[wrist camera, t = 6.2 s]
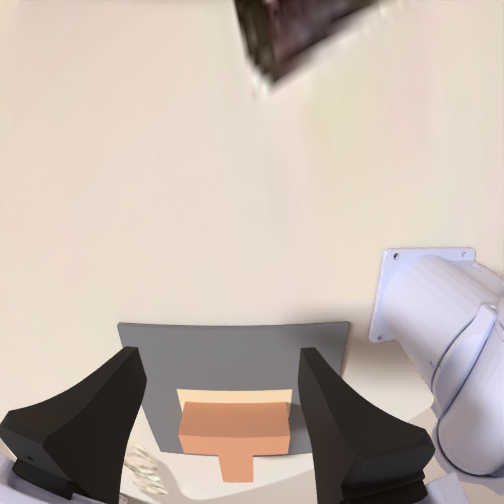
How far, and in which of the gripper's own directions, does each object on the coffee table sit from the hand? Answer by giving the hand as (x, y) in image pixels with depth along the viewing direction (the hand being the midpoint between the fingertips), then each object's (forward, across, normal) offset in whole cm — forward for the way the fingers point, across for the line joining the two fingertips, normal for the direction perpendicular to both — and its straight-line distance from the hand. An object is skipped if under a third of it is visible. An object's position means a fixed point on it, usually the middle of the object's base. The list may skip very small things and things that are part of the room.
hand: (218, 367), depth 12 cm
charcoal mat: (+9, 0, +13) cm, 15 cm away
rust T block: (+8, 0, +16) cm, 18 cm away
